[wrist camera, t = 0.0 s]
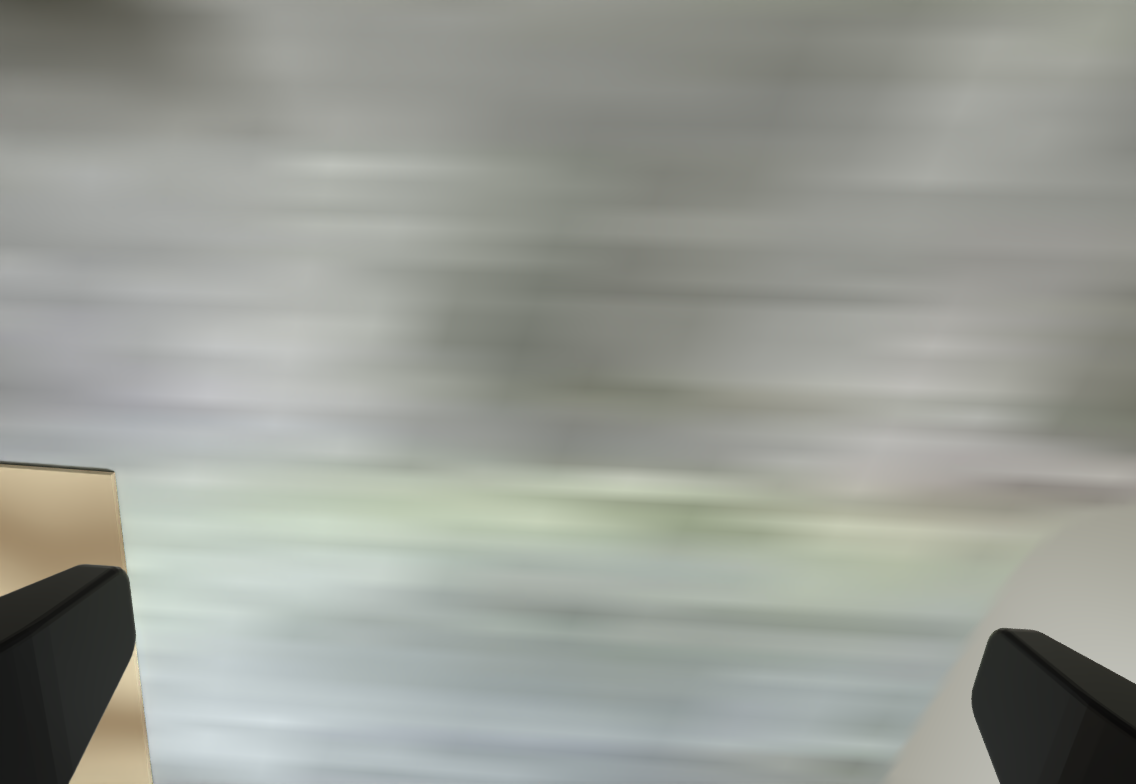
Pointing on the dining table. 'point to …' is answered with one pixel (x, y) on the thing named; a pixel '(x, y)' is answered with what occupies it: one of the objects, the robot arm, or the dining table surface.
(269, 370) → the dining table surface
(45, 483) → the board
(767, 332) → the dining table surface
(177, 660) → the dining table surface
